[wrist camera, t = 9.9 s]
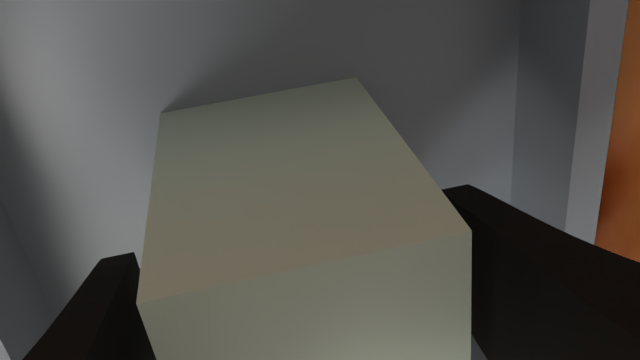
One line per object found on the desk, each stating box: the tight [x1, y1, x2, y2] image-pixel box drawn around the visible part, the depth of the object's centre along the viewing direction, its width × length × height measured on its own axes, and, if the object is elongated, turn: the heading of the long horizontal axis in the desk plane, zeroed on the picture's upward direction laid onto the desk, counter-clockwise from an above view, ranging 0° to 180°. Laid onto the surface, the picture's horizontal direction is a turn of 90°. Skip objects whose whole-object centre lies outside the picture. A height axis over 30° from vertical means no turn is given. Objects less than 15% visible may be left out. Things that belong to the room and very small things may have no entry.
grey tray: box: [0, 0, 629, 360], centre depth 14 cm, size 14×14×3 cm
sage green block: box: [136, 77, 472, 360], centre depth 12 cm, size 4×4×6 cm
